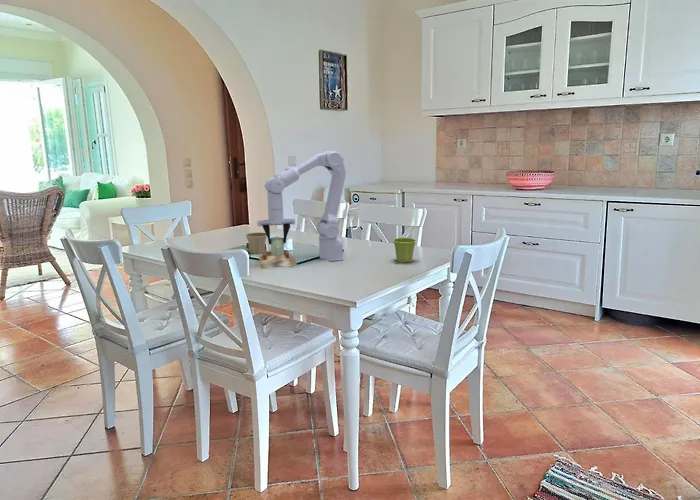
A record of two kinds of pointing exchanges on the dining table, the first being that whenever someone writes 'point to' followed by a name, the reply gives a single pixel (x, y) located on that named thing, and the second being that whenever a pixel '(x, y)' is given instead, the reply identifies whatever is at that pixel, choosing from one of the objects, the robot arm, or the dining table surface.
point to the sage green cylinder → (277, 246)
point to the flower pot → (256, 242)
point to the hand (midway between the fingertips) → (277, 243)
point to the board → (276, 260)
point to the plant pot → (404, 249)
